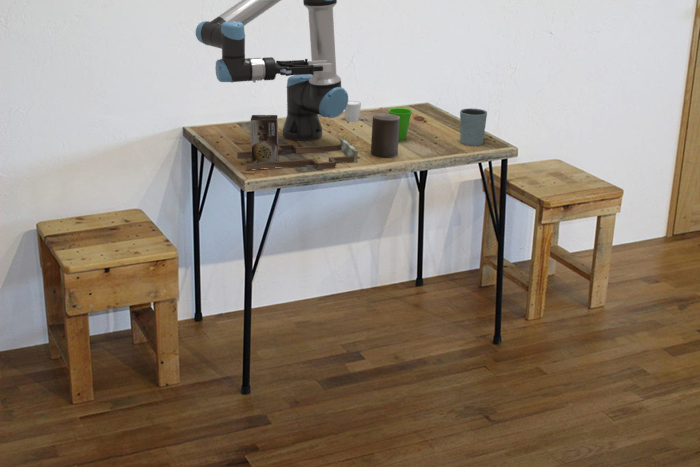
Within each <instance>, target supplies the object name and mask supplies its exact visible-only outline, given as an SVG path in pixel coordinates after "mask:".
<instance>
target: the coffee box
mask: <svg viewBox="0 0 700 467" xmlns="http://www.w3.org/2000/svg"><path fill="white" fill-rule="evenodd" d="M278 119H279V118H278V114H252V115H251V117H250V137H251V138H250V140H251V142H250V144H251V145H250V146H251V147H250V148H251V151H252V158H251V164H255V163H267V162H279V155H278V145H279V133H278V132H279V131H278V130H279V129H278V127H279V126H278V123H279V122H278Z"/></svg>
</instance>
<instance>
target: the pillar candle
mask: <svg viewBox="0 0 700 467" xmlns="http://www.w3.org/2000/svg"><path fill="white" fill-rule="evenodd" d="M399 121H400V117H399V116H397V115H393V114H389V113H387V112H385V113H384V112H383V113H376V114H373V115H372V124H371V127H372V128H371V144H370V154H371V155H372V156H375V157H379V158H393V157H397V156H398V154H399V153H398V152H399V141H398V139H399Z"/></svg>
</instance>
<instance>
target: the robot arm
mask: <svg viewBox="0 0 700 467" xmlns="http://www.w3.org/2000/svg"><path fill="white" fill-rule="evenodd" d="M281 1H282V0H241V1H238V2H237V3H236V4H234V5H233V6H231V7H230V8H228V9H227V10H226V11H224V12H223V13H221V14H219V16H217V17H215V18H214V19H213V20H211V21H209V20H207V21H205V20H204V21H201V22H199V23H198V25H197V26H196V28H195V37H196V39H197V41H199V43H202V44H203V45H205V46H208V47H209V46H210V47H212V48H218V49H221V55H222V56H221V58H220V59H217V60H216V61H215V67H214V68H215V76H216V79H217V81H218V82H220V83H240V82H253V83H256V81H257V82H258V81H263V80H264V81H274V80H276V76H277V74H278V75H280V76H285V77H288V76H289V77H288V78H287V82H286V107H287V108H286V111H287V112H286V118H285V120H284V124H283V127H282V137H284V138H286V139H289V140H293V141H313V140H318V139H320V138H322V137H323V127H322V125H321V121H320V118H319V116H321V117H324V118H329V119H334V118H338V117H340V116H341V115H342V114H343V113H344V112H345V109H346V107H347V104H348V101H349V94H348V91H347V90H346V89H345V88H344V87H342V78H341V77H340V76H339V75H338V74H337V62H336V45H335V25H334V24H335V23H334V22H335V21H334V7H335V6H336V5H337V4H338V0H303V1H302V2H303V6H304V7H305V8H306V9H307V11H308V23H309V40H310V55H311V60H308V58H304V59H297V60H296V59H294V60H275V58H274V57H272V56H271V57H262V58H261V57H249V58H248V57H247V58H246V53H245V52H246V33H245V26H247V25H248V24H249V23H250V22H253V20H255V19H256V18H258V17H259V16H261V15H262V14H264V13H265V12H267V11H268V10H270V9H271V8H272V7H274V6H275V5H277V4H278V3H279V2H281Z"/></svg>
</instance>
